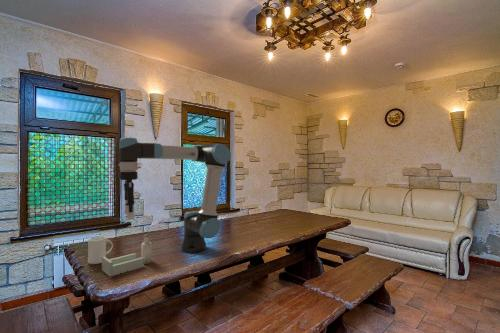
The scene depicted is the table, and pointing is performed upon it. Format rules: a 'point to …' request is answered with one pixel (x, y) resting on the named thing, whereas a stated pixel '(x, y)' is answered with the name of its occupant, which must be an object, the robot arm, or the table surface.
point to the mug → (97, 249)
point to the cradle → (121, 264)
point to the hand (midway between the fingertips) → (129, 216)
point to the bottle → (146, 249)
